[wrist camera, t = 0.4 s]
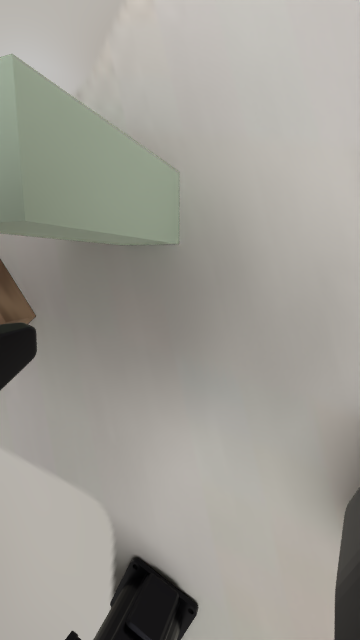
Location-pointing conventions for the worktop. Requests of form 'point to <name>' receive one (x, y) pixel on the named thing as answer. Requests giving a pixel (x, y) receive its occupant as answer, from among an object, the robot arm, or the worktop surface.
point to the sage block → (76, 170)
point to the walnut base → (12, 301)
